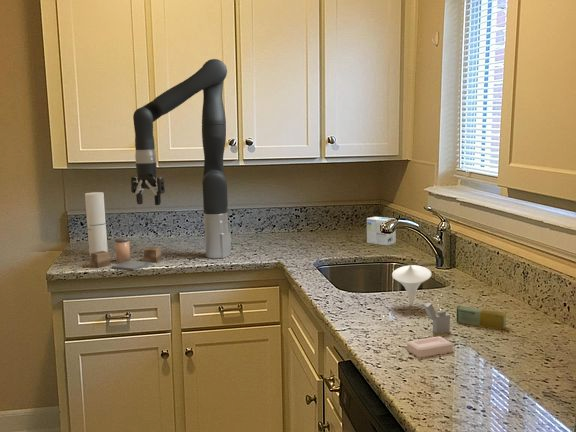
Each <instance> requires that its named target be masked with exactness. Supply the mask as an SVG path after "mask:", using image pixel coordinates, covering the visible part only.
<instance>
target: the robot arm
mask: <svg viewBox="0 0 576 432" xmlns="http://www.w3.org/2000/svg"><path fill="white" fill-rule="evenodd" d="M227 74H228V68H227V66H226V64H225V63H224V62H223V61H222V60H220V59H217V58H212V59H209V60H207V61H206V62H205V63H203V64H202V66H201V67H200V68H199V69H198V70H197V71H196V72H195V73H194V74H192V75H191V76H189V77H187V78H186V79H185V80H183V81H181V82H179V83H177V84H176V85H174V86H172V87H171V88H169V89H166V91H164V92H162V93H161V94H159V95H158V96H156V97H155V98H154V99H152V101H150V102H147V103H146V104H144V105H142V106H141V107H139V108H137V109H136V110H134V112H133V116H132V117H133V119H132V120H133V128H134V143H135V144H134V146H135V155H134V156H135V157H134V158H135V172H136V173H135V174H136V175H137V176H132V177H131V178H130V183H131V184H130V187H131V189H130V190H131V193H133V194H135V198H136V199H135V200H136V203H137V205H142V204H143V203H144V202H143V200H144V199H143V194H142V193H143V191H144V190H146V189H147V190H150V191H151V192H152V193H153V194H154V195H153V197H154V205H155V206H160V205H161V204H162V203H161V202H162V200H161V199H162V198H161V196H162V194H164V193H165V192H166V190H165V189H166V188H165V181H164V180H165V179H164V177H163V176H160V177H157V173H158V167H157V154H156V150H155V148H156V146H155V145H156V144H155V137H154V122H156V121H157V120H159V119H160V118H161V117H162V116H165V115H167V114H169V113H170V112H171V111H173V110H175V109H176V108H178V107H180V106H181V105H182V104H184V103H185V102H186V101H187V100H189V99H190V98H192V97H193V96H195V95H197V94H198V93H200V92H201V91H202V94H203V100H202V113H201V140H202V149H203V156H204V164H203V175H202V183H201V185H202V198H203V202H202V203H203V220H204V221H203V225H204V227H203V228H204V230H203V231H204V247H205V248H204V249H205V251H204V252H205V257H206V258H208V259H209V258H210V259H224V258H226V257H229V256H232V240H231V231H229V221H228V220H229V219H228V218H229V217H228V216H229V215H228V202H229V200H228V183H227V179H226V177H225V168H224V154H225V148H226V146H225V145H226V139H227V121H226V120H227V119H226V113H225V112H226V111H225V106H224V101H223V92H224V91H223V89H224V88H223V87H224V81H225V79H226V78H227Z"/></svg>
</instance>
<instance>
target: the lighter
mask: <svg viewBox="0 0 576 432" xmlns="http://www.w3.org/2000/svg"><path fill="white" fill-rule="evenodd" d="M422 306H423V308H424V311H425V313H426V316H427V317H428V319H430V320H432V333H433V334H436V335H439V334H443V333H449V332H450V331H451V314H450V313H447V311H446V310H444V309H442V310H436V311H437V313H436V311H435V308H434V306H433V304H432V303H430V302H428V301H427V302H425V303H424V304H423V305H422Z"/></svg>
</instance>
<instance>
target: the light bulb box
mask: <svg viewBox="0 0 576 432" xmlns="http://www.w3.org/2000/svg"><path fill="white" fill-rule="evenodd" d="M391 219H396V217H395V218H392V217H384V216H372V217H371V216H370V217H367V218H366V243H368V244H373V245H374V244H375V245H381V246H390V245H394V244H396V243H397V239H396V238H397V237H396V232H397V230H395V231H394V232H393V233H391V234H384V233H381V231H380V225H381V224H382V223H384V222H385V221H388V220H391Z"/></svg>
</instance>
